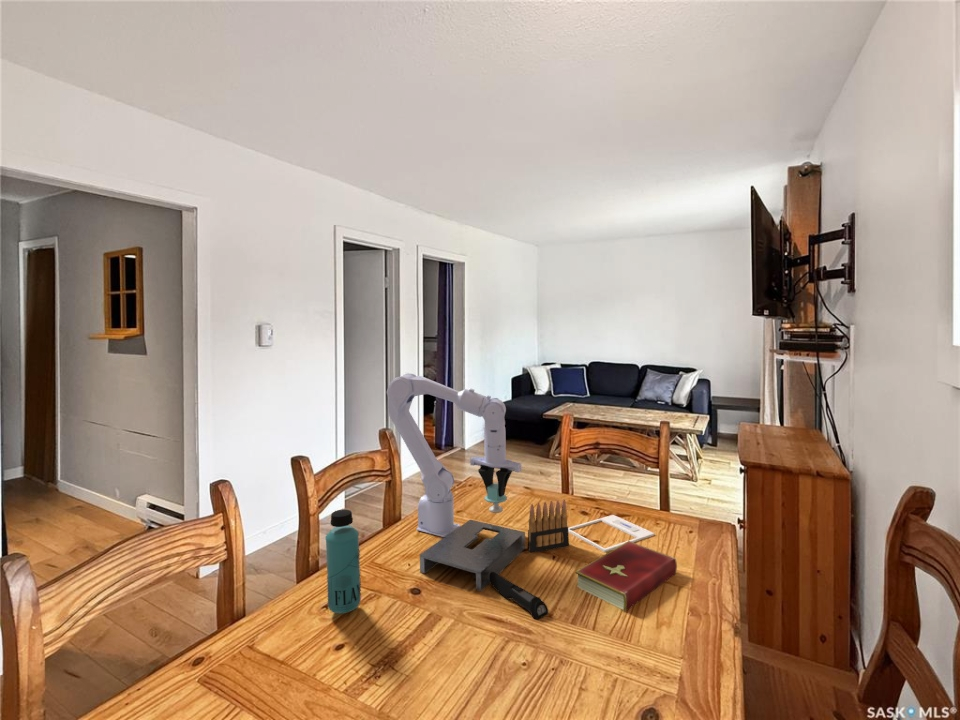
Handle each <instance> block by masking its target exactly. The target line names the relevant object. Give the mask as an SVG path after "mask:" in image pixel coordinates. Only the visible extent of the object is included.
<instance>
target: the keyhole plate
mask: <svg viewBox="0 0 960 720" xmlns="http://www.w3.org/2000/svg"><path fill="white" fill-rule="evenodd" d="M483 530H484V531H489V532H492V533H497V534H495V535H494V536H493V537H492V538H489V537H486V538H485V539H484V540H482V541H481V542H480V543H479V544H478V545H476V546H475V547H474V548H468V546H470V545H471V544H472V543H473V542H475V541H476V540H478V538H479V537H478V534H480V533H481V532H482V531H483ZM525 549H526V531H521V530H517V529H513V528H509V527H505V526H501V525H495V524H492V523H487V522H483V521H478V520H473V519H469V520H467V521H466V522H465V523H463V524H462V525H460V527H459V528H457V529H456V530H454V531H453V532H451V533H450V534H448V535H447V536H446V537H442V538H441V539H440V540H438V541H437V542H435V543H434V544H433V545H431V546H430V547H428V548H426V549H425V550H424V551H422V552H421V553H420V554H419V572H420V573H422V574H423V575H424V574H426V573H427V572H429V571H430V570H432V569H433V568H434V567H435V566H437V565H438V564H443V565H446V566H450V567H453V568H456V569H460V570H463V571H466V572H470V573H474V574H475V588H476V589H475V590H476V591H478V592H482V591H484V589H485V588H486V587H487V586H489V584H490V582H489V577H490V573H491V572H495V573H497V574H498V575H500V573H502V572H503V570H505V568H506V567H508V566H509V565H510V564H511V563H512V562H513V561H514V560H515V559H516V558H517V557H518V556H519V555H520V554H521V553H522V552H523V551H524V550H525Z"/></svg>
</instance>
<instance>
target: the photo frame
mask: <svg viewBox="0 0 960 720" xmlns="http://www.w3.org/2000/svg"><path fill="white" fill-rule="evenodd" d="M600 522H603V523H604V524H606V525H608V526H610V527H613V528H614V529H617V530H619V531H621V532H622V533H625V534H627V535H629V536H632V537H633V539H629V540H627V541H630V542H633V543H637V542H639V541H641V540H644V539H648V538H650V537H654V536H655V532H653V531H651V530H648V529H645V528H644V527H641V526H640V525H637V524H634V523H632V522H630V521H627V520H626V519H624V518H622V517H619V516H617V515H615V514H610V515H608V516H604V517H600V518H598V519H593V520H591V521H587V522H583V523H580V524H576V525H573V526H570V527H569V526H568V534H570V535H573V536H575V537H576V538H578V539H579V540H582V541H584V542H585V543H586V544H589V545H591V546H593V547H594V548H596V549H598V550H600V551H601V552H603V553H608V552H610V551H612V550H613V549H615V548H617V547H619V546H620V545H622V544H624V543H626V542H627V541H623V542H620V543H617V544H614V545H610V546H608V547H603V546H601V545H600V544H597V543H596V542H593V541H592V540H590V539H588V538H586V537H584V536H582V535H581V534H579V533H578V532H575V531H574V530H575V529H576V530H577V529H580V528H582V527H586V526H589V525H593V524H596V523H600Z"/></svg>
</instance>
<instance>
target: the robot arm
mask: <svg viewBox="0 0 960 720" xmlns="http://www.w3.org/2000/svg"><path fill="white" fill-rule="evenodd" d="M386 395H387V399H388V400H387V401H388V402H387V403H388V404H387V406H388V407H387V410H388V412H387V413H388V415H389V417H390V419H391V421H392V423H393V425H394V426H395V428H396V430H397V432H398V434H399V435H400V437H401V439H402V440H403V442H404V444H405V446H406V447H407V449H408V451H409V453H410V454H411V456H412V458H413V460H414V461H415V463H416V464H417V467H418V468H419V470H420V476H421V477H420V478H421V482H422V484H423V487H424V493H425V494H423V495H422V496H421V497H420V498H419V501H418V504H417V527H416V531H420V532H423V533H426V534H430V535H433V536H438V537H441V538H444V537H446V536H447V535H449V534H450V533H451V532H453V531H454V530H456V529H457V528H459V527H460V526H461V524H459V523H455V521H454V519H455V518H454V517H455V516H454V515H455V513H454V494H453V492H452V490H451V489H452V487H453V486H454V483H455V477H454V475H453V473H452V472H451V471H450V470H448V469H447V468H446V467H445V466H444V463H442V461H440V460H438V459H437V457H436V455H435V454H434V452H433V450H432V449H431V447H430V445H429V443H428V441H427V440H426V438H425V437H424V435H423V432H422V431H421V430H420V428H419V426H418V423H416V421H415V419H414V417H413V415H412V414H411V412H410V409H411V406H412V403H413V399H415V397H417V396H422V395H423V396H424V395H430V396H433V397H436V398H439V399H442V400H445V401H449V402H451V403H454V405H455V406H456V408H457V409H458V410H459V411H462V412H465V413H468V414H470V415H474V416H477V417H478V418H481V417H482V418H483V420H484V427H483V434H484V435H483V437H484V438H483V440H484V441H483V442H484V443H483V444H484V446H483V447H484V449H483V450H484V457H483V456H481V457H480V456H472V457H471V458H470V459H469V460H470V461H469V463H470V466H480V467H479V468H478V470H477V471H478V474H479V475H480V477H481V479H482V481H483V483H484V487H485V491H486V492H487V487H488V486H490V485H491V484H493V483H494V473H495V474H496V479H497V483H498V493H499V496H500V497H502V496H503V495H506V494H505V493H506V488H507V484H508V482H509V479H510V476H511V475H512V472H515V473H520V472H521V471H522V463H521V462H517V461H512V460H510V459H507V451H506V449H507V447H506V446H507V443H506V441H507V440H506V438H507V437H506V427H505V425H506V420H505V415H506V412H507V408H506V407H507V406H506V405H505V403H504V401H502V400H501V399H499V398H497V397H493V398H492V396H491V395H487V396H486V395H483V394H481V393H478V392H475V388H474V389H473V388H469V389H467V388H464V389H463V390H460V391H459V390H456V389H454V388H452V387H449V386H446V385H444V384H442V383H439V382H437V381H434V380H432V379H429V378H428V377H424V376H421V375H416V374H414V373H409V372H408V373H406V374H403V375H401V376H397V377H394V378H393V379H392V380H391V381H390V383H389V384H388V388H387V390H386ZM495 469H499V470H496V472H495Z"/></svg>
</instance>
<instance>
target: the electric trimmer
mask: <svg viewBox="0 0 960 720" xmlns="http://www.w3.org/2000/svg"><path fill="white" fill-rule="evenodd" d="M489 582H490V583H489V584H490V585H491V586H492V587H493V588H494V589H495V590H497V592H499V594H500V595H501V596H503V597H504V598H505V599H507V600H508V599H509V600H513V602H515V603H517V604H518V605H520V606H521V607H522V608H524V609H526V611H527V612H529V613H530V615H531V617H532V618H533V619H534V620H535V619H536V620H540V619H542V618H544V617H546V616H547V615H548V614H549V608H548V606H547V604H546V603H545V601H544V600H542V599H541V598H540V597H539V596H536V595H534V594H532V593H531V592H529V591H528V590H526V589H524V588H522V587H521V586H519V585H517V584H515V583H514V582H512V581H510V580H508V579H506V578H505V577H503V576H502V575H500V574H497V573H495V572H491V573H490V577H489Z"/></svg>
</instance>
